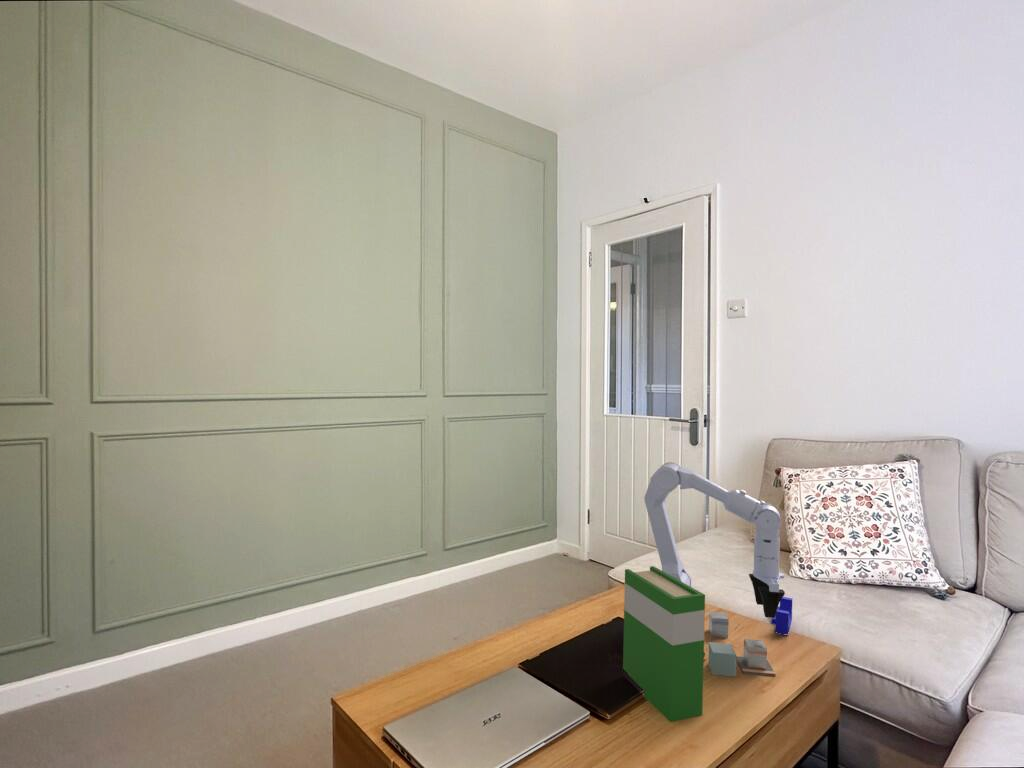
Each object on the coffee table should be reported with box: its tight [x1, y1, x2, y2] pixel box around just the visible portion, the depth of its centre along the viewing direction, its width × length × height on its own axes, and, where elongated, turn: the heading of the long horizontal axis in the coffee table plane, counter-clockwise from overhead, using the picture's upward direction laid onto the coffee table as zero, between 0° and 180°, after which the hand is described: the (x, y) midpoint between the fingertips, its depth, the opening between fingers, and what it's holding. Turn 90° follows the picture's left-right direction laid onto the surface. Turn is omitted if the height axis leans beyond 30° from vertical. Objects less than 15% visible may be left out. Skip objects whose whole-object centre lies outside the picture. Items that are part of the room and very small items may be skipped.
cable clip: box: [771, 596, 793, 635], centre depth 154 cm, size 12×4×6 cm, turn 149°
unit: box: [707, 641, 737, 677], centre depth 130 cm, size 5×5×5 cm
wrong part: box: [708, 611, 730, 639], centre depth 148 cm, size 4×4×5 cm
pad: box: [736, 655, 776, 677], centre depth 132 cm, size 7×7×1 cm
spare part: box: [743, 638, 768, 670], centre depth 132 cm, size 4×4×5 cm
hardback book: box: [622, 565, 706, 723], centre depth 119 cm, size 18×7×24 cm, turn 20°
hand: (765, 610), depth 140 cm, fingers open, 7 cm apart
